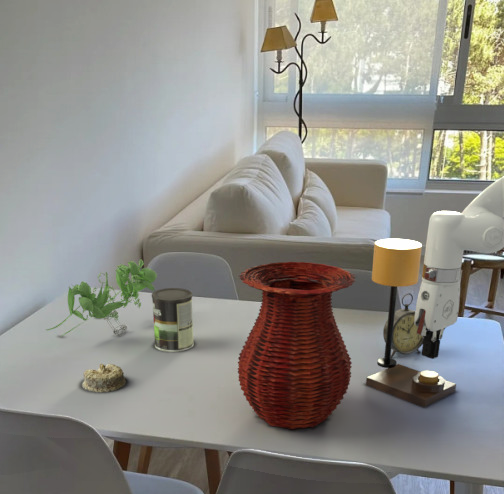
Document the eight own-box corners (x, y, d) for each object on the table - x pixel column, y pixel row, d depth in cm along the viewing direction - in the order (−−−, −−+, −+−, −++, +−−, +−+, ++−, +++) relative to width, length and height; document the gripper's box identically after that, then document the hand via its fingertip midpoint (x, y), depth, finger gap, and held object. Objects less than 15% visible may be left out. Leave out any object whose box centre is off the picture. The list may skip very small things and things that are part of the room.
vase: (261, 384, 162) (263, 255, 149) (361, 402, 154) (372, 267, 141) (218, 428, 143) (216, 284, 130) (329, 450, 135) (339, 299, 122)
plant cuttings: (57, 376, 183) (110, 337, 171) (18, 321, 181) (69, 277, 169) (130, 333, 212) (180, 297, 200) (97, 285, 210) (146, 246, 198)
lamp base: (455, 392, 159) (457, 376, 157) (424, 408, 152) (426, 391, 150) (397, 372, 170) (398, 356, 168) (365, 385, 162) (366, 370, 160)
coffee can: (158, 354, 179) (155, 301, 173) (151, 341, 188) (148, 289, 182) (198, 350, 182) (196, 297, 176) (189, 337, 191) (187, 286, 184)
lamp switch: (441, 381, 156) (442, 374, 155) (430, 386, 154) (431, 378, 153) (426, 375, 159) (426, 368, 158) (415, 380, 156) (416, 373, 155)
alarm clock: (389, 361, 175) (395, 298, 168) (377, 354, 180) (383, 292, 173) (426, 355, 179) (433, 293, 172) (413, 348, 184) (420, 287, 177)
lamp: (417, 365, 163) (431, 244, 151) (391, 376, 157) (403, 251, 145) (382, 353, 170) (393, 236, 158) (356, 363, 164) (365, 243, 152)
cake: (134, 386, 163) (134, 365, 160) (98, 400, 156) (97, 378, 154) (109, 371, 168) (108, 350, 166) (73, 383, 162) (71, 362, 159)
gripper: (435, 284, 138) (423, 370, 146) (476, 271, 148) (463, 353, 156) (404, 275, 143) (394, 359, 151) (445, 264, 153) (434, 343, 161)
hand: (429, 356), depth 153 cm, fingers closed
